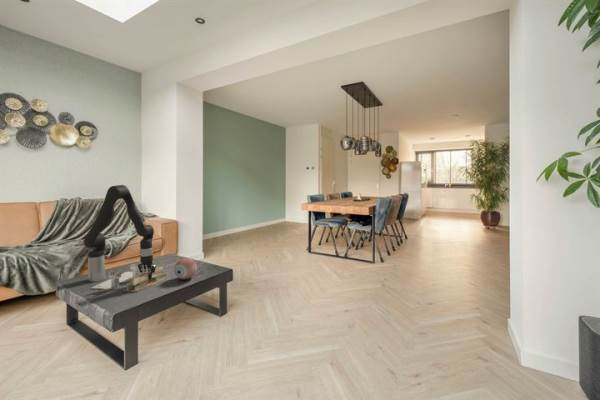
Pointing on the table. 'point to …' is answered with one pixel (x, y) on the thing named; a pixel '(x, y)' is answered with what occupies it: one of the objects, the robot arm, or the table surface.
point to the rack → (146, 283)
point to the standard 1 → (114, 279)
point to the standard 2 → (134, 270)
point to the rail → (145, 276)
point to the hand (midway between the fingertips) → (147, 278)
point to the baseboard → (107, 283)
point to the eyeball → (185, 268)
